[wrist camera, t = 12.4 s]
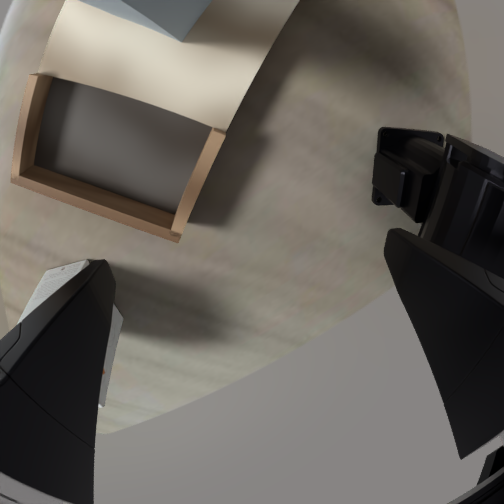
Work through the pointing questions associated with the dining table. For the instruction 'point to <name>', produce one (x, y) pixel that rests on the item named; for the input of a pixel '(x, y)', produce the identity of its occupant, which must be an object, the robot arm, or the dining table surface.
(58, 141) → the box
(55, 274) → the small box
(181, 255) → the dining table surface
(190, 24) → the block
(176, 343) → the dining table surface
